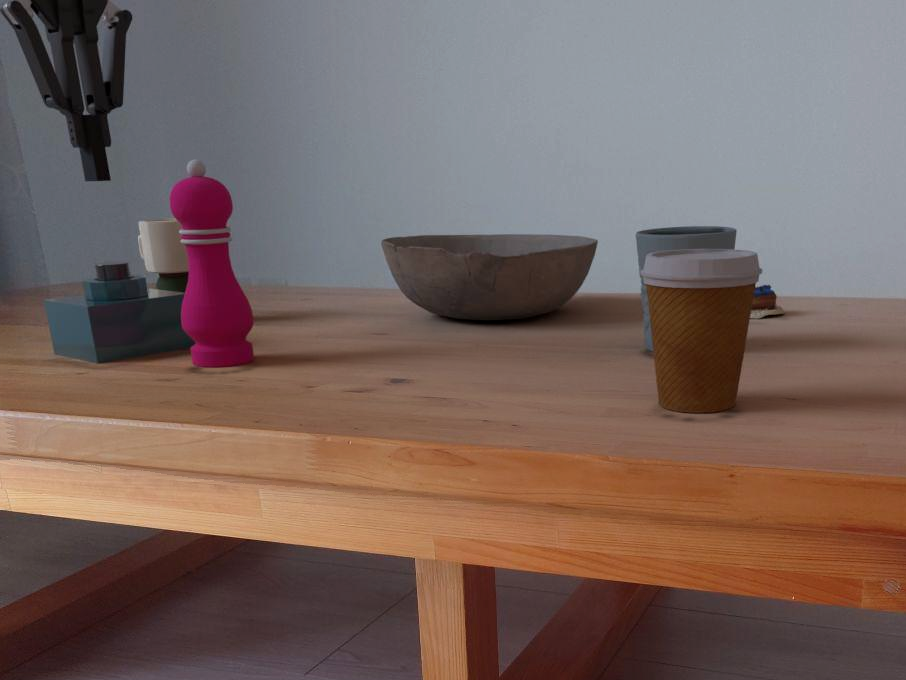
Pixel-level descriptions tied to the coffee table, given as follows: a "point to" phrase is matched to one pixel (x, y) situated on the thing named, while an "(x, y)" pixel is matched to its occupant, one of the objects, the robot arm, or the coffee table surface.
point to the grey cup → (677, 241)
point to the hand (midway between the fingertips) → (98, 180)
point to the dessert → (764, 302)
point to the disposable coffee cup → (699, 324)
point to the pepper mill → (210, 273)
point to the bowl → (489, 272)
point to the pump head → (112, 271)
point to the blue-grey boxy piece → (117, 321)
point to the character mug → (164, 253)
